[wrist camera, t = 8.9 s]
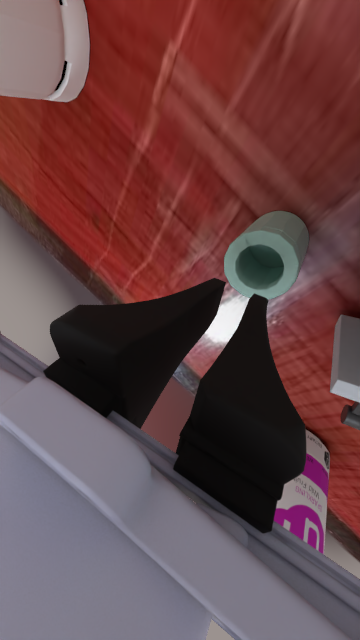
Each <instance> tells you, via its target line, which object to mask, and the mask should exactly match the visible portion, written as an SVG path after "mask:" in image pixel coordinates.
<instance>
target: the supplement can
mask: <svg viewBox="0 0 360 640" xmlns="http://www.w3.org/2000/svg"><path fill="white" fill-rule="evenodd" d="M329 465H330V455H329V452H328V450H327V449H326V447H325V446H324V444H322V443H321V441H320V440H319V439H318V438H317V437H316V436H315V435H314V434H312V433H311V432H309V431H308V430H306V464H305V468H304V471H303V472H302V473H301V475H299V476H298V477H296V478H294V479H293V480H291V481H289V482H288V483H286V484H284V489H283V494H282V498H281V500H279V501H277V506H276V511H275V516H274V521H275V522H277V523H278V524H280V525H281V526H283V527H284V528H285V529H287V530H288V531H290V532H291V533H293V534H294V535H296V536H297V537H299V538H300V539H302V540H303V541H304V542H306V543H307V544H309V545H310V546H312V547H313V548H315V549H316V550H318V551H319V552H321V553H322V554H323V555H324V544H325V528H326V512H327V497H328V481H329Z"/></svg>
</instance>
